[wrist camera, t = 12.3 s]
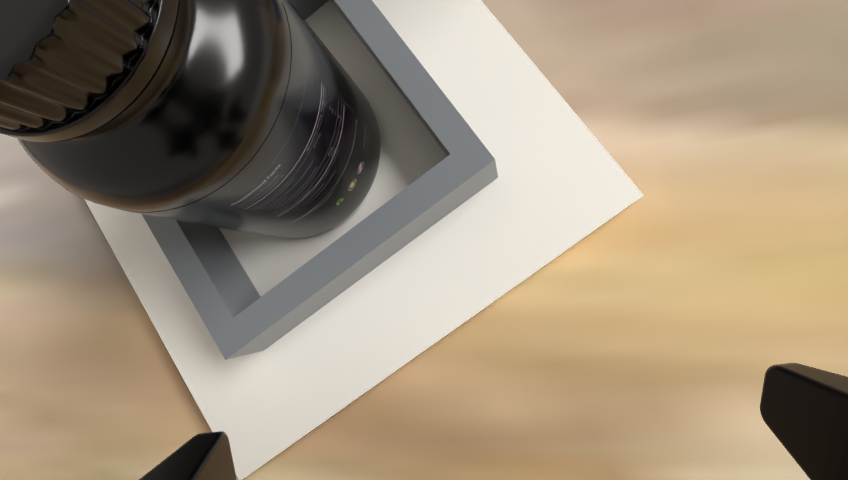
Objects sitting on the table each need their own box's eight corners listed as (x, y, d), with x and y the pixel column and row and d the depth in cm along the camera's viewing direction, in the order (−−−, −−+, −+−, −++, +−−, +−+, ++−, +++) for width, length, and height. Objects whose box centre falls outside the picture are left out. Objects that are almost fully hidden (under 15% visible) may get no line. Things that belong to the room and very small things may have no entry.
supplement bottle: (195, 190, 20) (-286, 45, 8) (278, 45, 20) (-83, -319, 8) (328, 276, 18) (-18, 254, 6) (419, 119, 18) (236, -193, 6)
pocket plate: (636, 200, 17) (665, 179, 14) (254, 471, 19) (196, 512, 16) (364, -127, 21) (334, -209, 17) (62, 128, 22) (-20, 100, 19)
